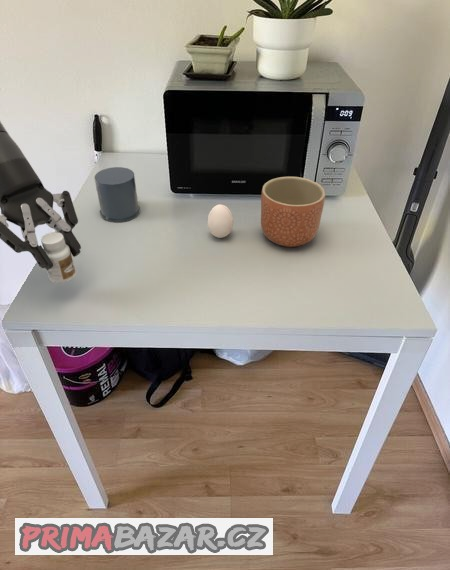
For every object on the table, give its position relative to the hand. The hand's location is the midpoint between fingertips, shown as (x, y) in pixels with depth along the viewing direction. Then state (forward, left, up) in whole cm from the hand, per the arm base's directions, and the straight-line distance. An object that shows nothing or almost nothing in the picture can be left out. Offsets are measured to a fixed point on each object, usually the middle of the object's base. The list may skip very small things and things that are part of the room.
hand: (64, 260), depth 72 cm
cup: (+14, +27, -9) cm, 32 cm away
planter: (+44, +3, -9) cm, 45 cm away
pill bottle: (-1, +2, -4) cm, 5 cm away
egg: (+31, +9, -9) cm, 34 cm away
